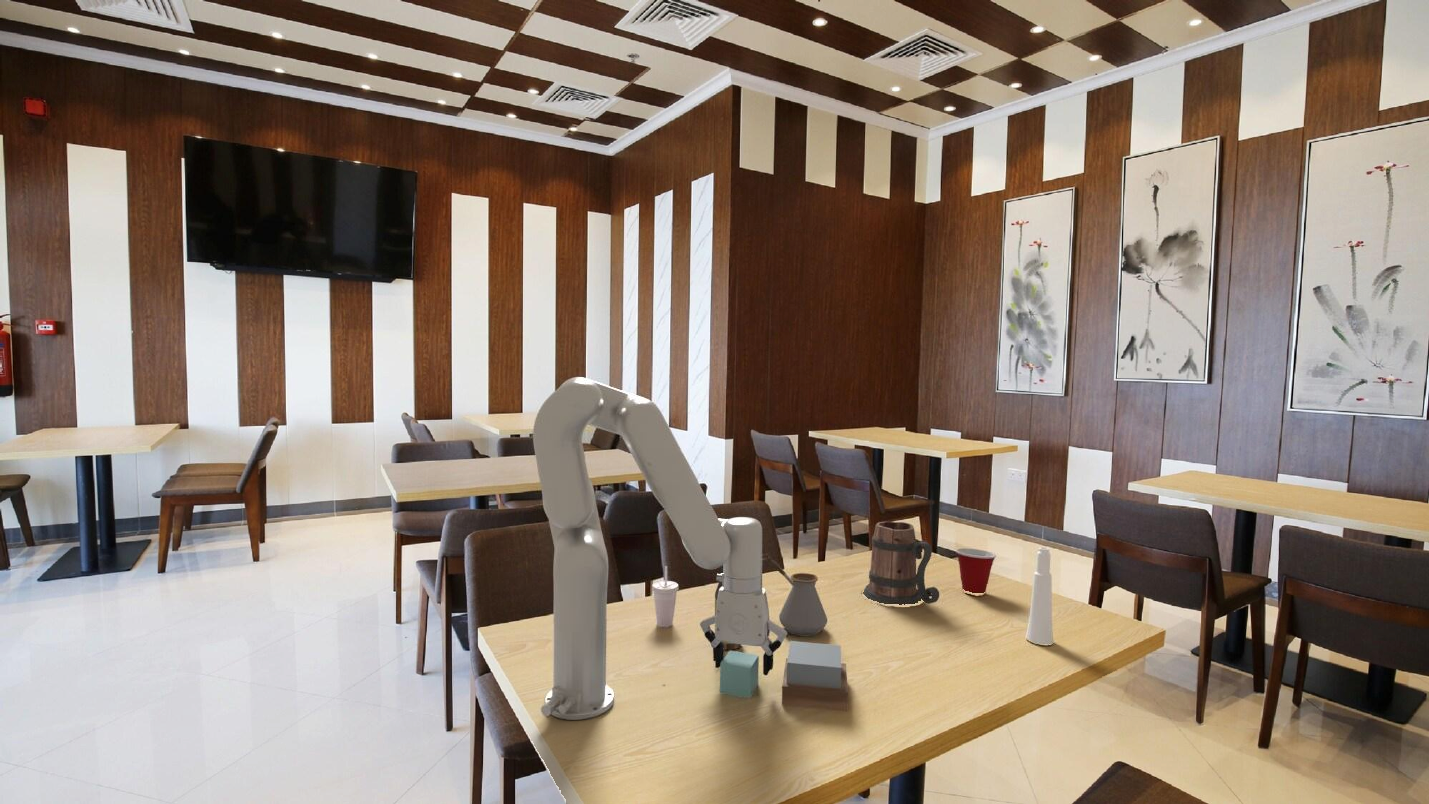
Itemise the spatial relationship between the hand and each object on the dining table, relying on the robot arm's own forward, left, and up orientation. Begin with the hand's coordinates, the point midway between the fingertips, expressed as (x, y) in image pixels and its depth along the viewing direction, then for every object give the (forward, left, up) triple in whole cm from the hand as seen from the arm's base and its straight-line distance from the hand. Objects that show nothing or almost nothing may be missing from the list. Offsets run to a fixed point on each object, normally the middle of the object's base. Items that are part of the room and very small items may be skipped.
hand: (742, 668), depth 130 cm
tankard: (+63, -26, -4) cm, 68 cm away
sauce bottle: (+18, +9, -4) cm, 20 cm away
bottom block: (+4, -14, -4) cm, 15 cm away
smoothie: (+24, +27, -4) cm, 36 cm away
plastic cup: (+77, -45, -4) cm, 89 cm away
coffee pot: (+36, -1, -4) cm, 36 cm away
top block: (+4, -13, 0) cm, 14 cm away
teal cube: (0, +1, -4) cm, 4 cm away
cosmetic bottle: (+47, -58, -4) cm, 75 cm away
